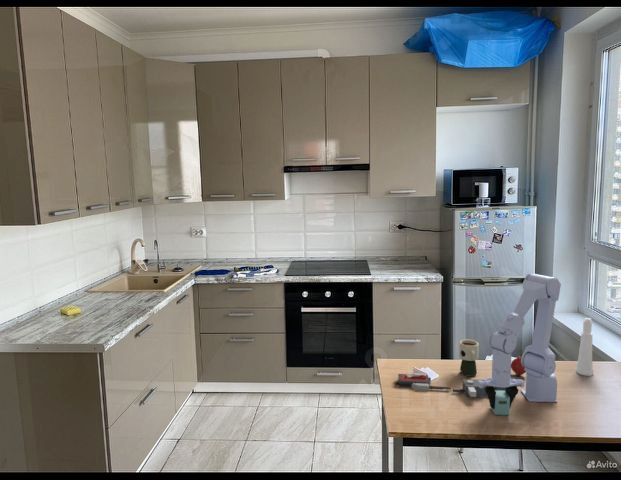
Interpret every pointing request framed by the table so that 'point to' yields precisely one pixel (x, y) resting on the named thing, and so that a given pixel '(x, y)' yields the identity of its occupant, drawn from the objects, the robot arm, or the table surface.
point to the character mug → (468, 356)
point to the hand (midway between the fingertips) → (500, 407)
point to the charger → (501, 403)
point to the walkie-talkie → (417, 381)
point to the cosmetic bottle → (585, 350)
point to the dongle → (472, 391)
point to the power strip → (479, 391)
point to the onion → (517, 366)
